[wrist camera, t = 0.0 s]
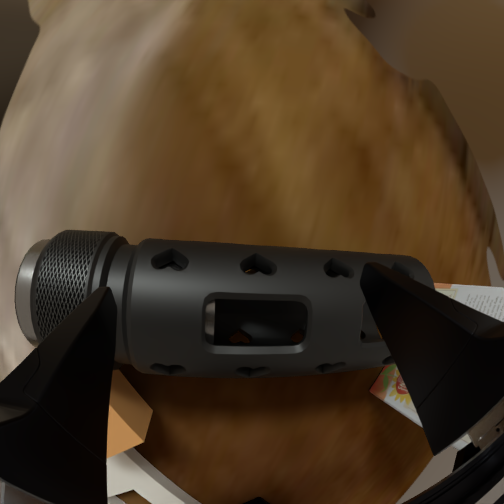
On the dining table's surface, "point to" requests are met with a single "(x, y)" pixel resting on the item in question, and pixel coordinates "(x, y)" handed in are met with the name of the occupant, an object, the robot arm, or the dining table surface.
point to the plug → (126, 416)
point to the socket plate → (141, 480)
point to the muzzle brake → (212, 303)
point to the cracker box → (390, 381)
